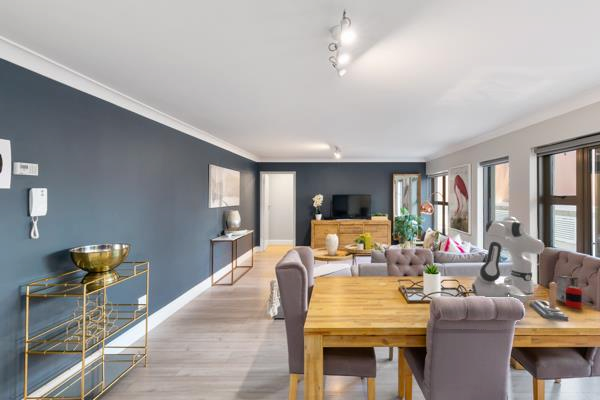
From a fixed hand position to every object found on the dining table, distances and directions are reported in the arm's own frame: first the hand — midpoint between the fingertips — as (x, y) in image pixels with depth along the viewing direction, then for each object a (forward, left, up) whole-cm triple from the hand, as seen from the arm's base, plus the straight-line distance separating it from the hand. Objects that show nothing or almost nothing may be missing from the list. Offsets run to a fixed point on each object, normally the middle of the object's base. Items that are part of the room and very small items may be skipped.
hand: (530, 294), depth 183 cm
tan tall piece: (+4, +10, -9) cm, 14 cm away
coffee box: (-22, +42, -11) cm, 49 cm away
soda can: (-12, +37, -11) cm, 41 cm away
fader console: (-2, +12, -11) cm, 17 cm away
